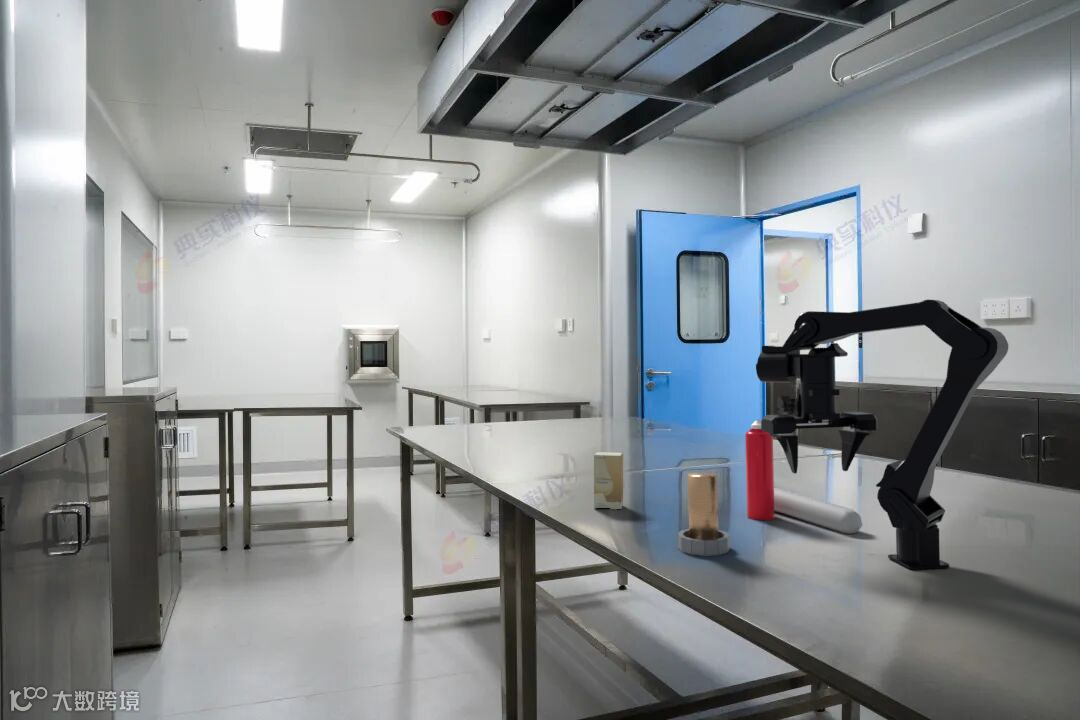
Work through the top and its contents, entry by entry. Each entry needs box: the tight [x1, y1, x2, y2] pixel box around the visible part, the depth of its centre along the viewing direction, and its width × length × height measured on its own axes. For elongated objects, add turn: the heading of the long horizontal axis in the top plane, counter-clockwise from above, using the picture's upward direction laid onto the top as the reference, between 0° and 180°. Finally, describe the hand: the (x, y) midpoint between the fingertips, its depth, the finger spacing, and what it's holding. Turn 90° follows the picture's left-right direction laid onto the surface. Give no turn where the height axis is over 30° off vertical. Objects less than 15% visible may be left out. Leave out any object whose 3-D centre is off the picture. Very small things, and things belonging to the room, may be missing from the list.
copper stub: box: [687, 472, 719, 540], centre depth 123 cm, size 5×5×13 cm
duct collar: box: [677, 528, 731, 557], centre depth 123 cm, size 9×9×2 cm
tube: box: [774, 486, 863, 535], centre depth 141 cm, size 5×5×25 cm
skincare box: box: [593, 451, 624, 510], centre depth 157 cm, size 6×4×12 cm
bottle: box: [744, 419, 776, 521], centre depth 145 cm, size 5×5×20 cm
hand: (819, 471), depth 123 cm, fingers open, 9 cm apart
